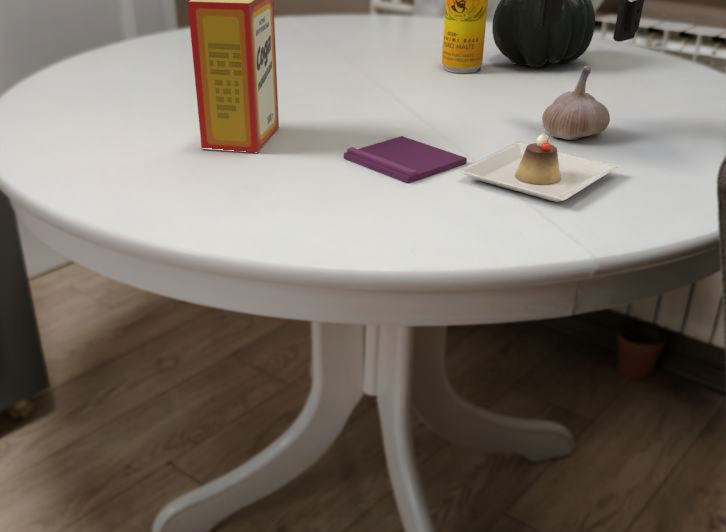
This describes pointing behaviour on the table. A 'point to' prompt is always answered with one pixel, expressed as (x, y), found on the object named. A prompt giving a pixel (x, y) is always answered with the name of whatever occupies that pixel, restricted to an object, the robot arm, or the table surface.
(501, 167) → the dessert
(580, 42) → the squash
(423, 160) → the purple flat slab
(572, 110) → the garlic bulb
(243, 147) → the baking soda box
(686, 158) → the table surface
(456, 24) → the beer can
